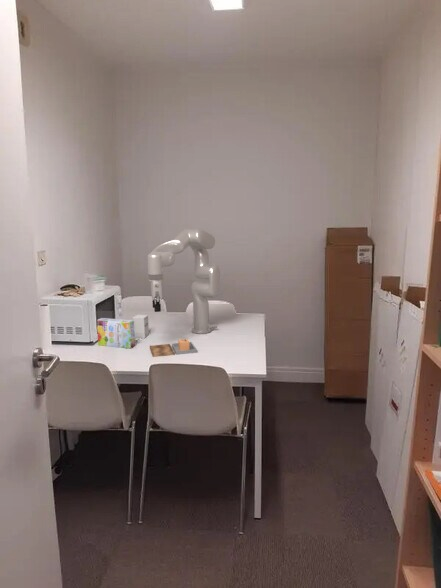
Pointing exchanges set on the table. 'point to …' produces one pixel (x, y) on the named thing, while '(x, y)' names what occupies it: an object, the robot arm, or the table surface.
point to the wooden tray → (161, 350)
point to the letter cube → (183, 344)
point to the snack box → (116, 332)
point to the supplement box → (141, 326)
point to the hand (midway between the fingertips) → (156, 309)
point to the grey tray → (191, 350)
